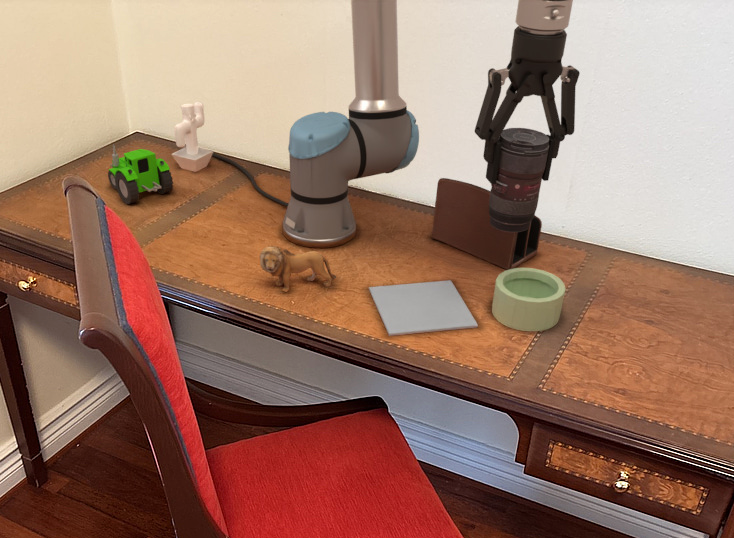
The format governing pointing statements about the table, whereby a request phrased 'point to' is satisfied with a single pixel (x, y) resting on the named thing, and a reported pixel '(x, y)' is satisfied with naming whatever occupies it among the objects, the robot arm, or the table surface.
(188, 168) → the figurine
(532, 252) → the letter holder
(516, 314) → the bowl
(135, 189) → the toy tractor
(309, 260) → the lion figurine
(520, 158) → the camera lens
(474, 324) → the mat
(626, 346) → the table surface
